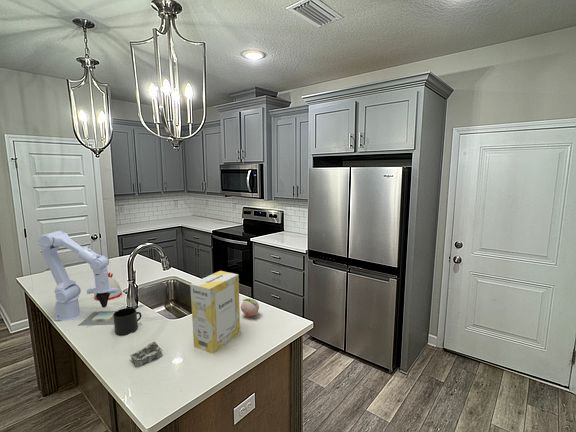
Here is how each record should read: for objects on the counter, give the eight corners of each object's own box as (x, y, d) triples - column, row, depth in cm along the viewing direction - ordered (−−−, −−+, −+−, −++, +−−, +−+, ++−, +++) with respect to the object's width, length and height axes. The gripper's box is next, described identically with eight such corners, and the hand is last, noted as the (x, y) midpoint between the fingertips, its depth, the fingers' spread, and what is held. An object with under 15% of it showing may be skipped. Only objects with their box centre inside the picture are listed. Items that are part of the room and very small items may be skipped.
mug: (147, 327, 145) (145, 309, 144) (120, 338, 136) (118, 319, 134) (137, 320, 151) (136, 303, 149) (111, 331, 142) (109, 313, 140)
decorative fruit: (262, 314, 157) (262, 296, 155) (254, 321, 150) (253, 302, 148) (247, 311, 161) (246, 293, 159) (238, 318, 154) (237, 299, 152)
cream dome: (88, 299, 176) (85, 274, 173) (110, 290, 188) (108, 266, 186) (106, 303, 171) (103, 277, 168) (127, 293, 183) (124, 269, 181)
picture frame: (77, 326, 146) (77, 325, 146) (94, 312, 160) (94, 311, 160) (116, 325, 147) (116, 324, 147) (129, 311, 161) (129, 310, 161)
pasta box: (212, 353, 125) (209, 289, 120) (194, 346, 130) (190, 284, 125) (240, 332, 140) (238, 274, 136) (222, 326, 145) (220, 270, 141)
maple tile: (100, 314, 156) (92, 321, 149) (99, 312, 156) (91, 319, 149) (116, 314, 157) (109, 321, 150) (115, 312, 157) (108, 318, 150)
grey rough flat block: (156, 349, 128) (156, 340, 128) (164, 357, 123) (163, 347, 122) (129, 360, 121) (128, 350, 121) (135, 369, 116) (135, 359, 115)
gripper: (120, 277, 155) (123, 302, 158) (91, 278, 155) (94, 303, 157) (113, 282, 149) (116, 309, 151) (82, 283, 148) (86, 309, 150)
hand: (104, 306), depth 153 cm, fingers closed
